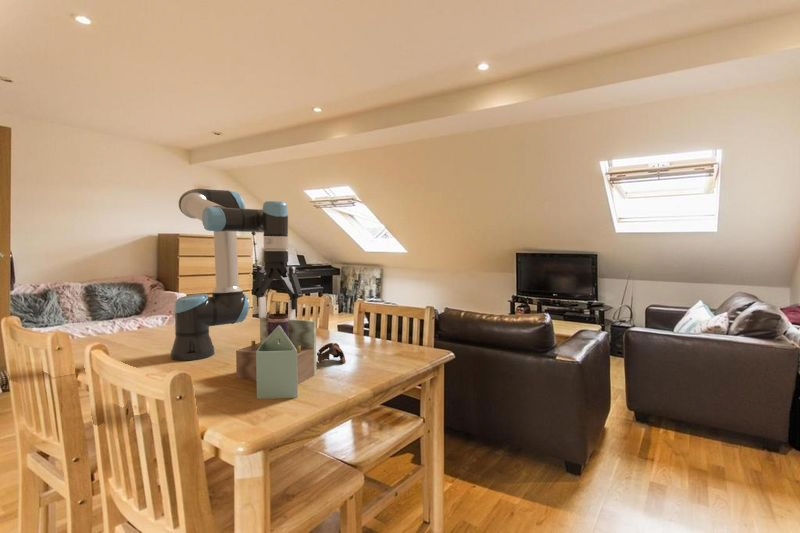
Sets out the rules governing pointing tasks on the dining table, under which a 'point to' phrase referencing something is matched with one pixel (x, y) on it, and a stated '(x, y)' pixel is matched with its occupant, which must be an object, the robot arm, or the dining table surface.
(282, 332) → the planter
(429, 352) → the dining table surface
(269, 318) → the mug
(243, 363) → the wall shelf
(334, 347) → the brown arched figurine
